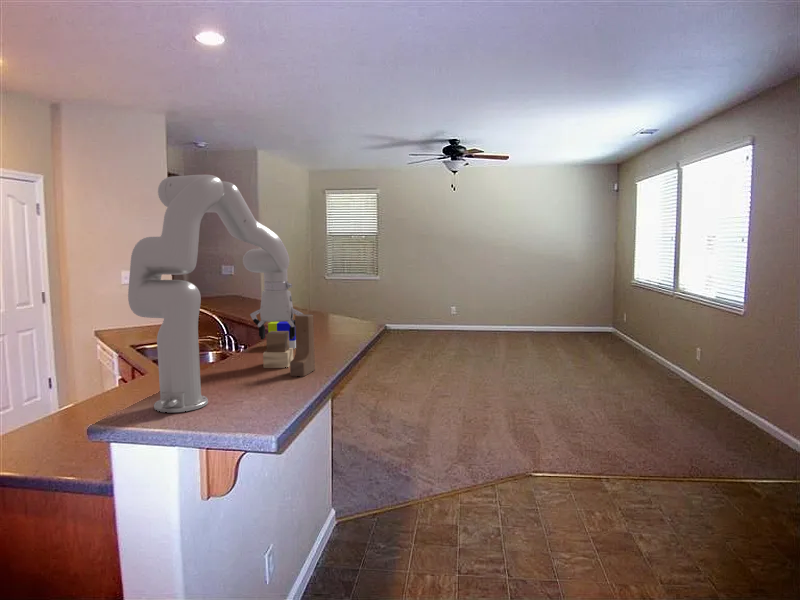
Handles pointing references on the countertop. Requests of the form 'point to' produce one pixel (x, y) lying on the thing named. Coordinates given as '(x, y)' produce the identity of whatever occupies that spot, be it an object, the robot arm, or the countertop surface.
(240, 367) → the countertop surface
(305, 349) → the wooden block
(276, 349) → the walnut cube
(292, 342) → the puzzle toy
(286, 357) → the oak block
